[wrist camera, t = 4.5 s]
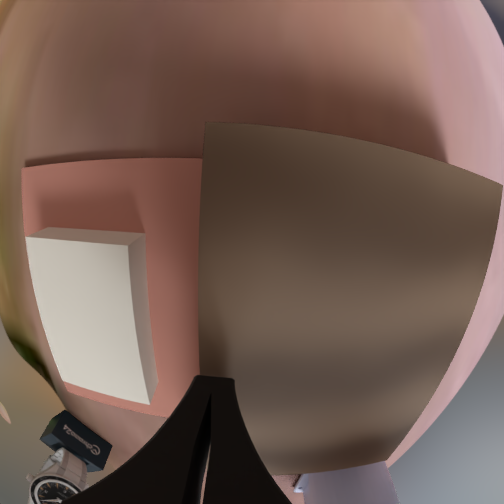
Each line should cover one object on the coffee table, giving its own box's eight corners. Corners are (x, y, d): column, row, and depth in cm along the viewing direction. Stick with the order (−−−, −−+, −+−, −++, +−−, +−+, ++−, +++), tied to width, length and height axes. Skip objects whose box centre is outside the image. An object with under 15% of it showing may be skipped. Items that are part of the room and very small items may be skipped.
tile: (62, 380, 12) (76, 362, 14) (149, 405, 13) (158, 381, 14) (25, 236, 10) (48, 227, 12) (128, 245, 10) (145, 233, 12)
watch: (122, 442, 18) (89, 539, 7) (87, 453, 19) (58, 526, 9) (71, 403, 16) (20, 499, 6) (46, 421, 18) (6, 493, 7)
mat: (207, 418, 16) (207, 422, 16) (70, 388, 16) (68, 391, 15) (211, 158, 11) (209, 158, 11) (26, 167, 11) (21, 168, 11)
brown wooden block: (371, 421, 17) (386, 460, 13) (212, 427, 16) (207, 472, 13) (451, 176, 11) (503, 185, 8) (219, 136, 11) (205, 122, 7)
